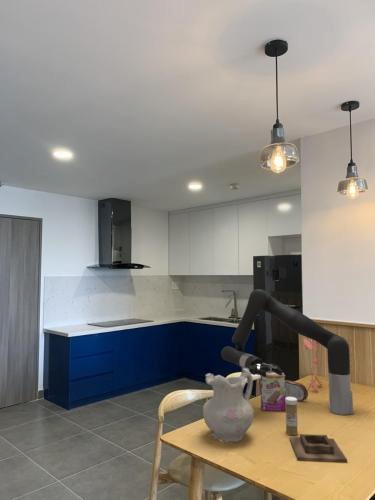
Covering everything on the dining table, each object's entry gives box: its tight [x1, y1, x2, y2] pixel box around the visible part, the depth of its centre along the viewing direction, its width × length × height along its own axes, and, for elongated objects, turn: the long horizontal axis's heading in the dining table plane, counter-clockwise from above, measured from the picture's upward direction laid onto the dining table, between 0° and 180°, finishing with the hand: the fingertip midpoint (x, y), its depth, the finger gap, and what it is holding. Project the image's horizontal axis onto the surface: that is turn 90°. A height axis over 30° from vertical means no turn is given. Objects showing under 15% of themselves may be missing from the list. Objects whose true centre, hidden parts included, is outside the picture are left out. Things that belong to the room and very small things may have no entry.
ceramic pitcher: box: [202, 368, 255, 443], centre depth 146 cm, size 22×20×25 cm
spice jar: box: [285, 397, 299, 436], centre depth 147 cm, size 5×5×14 cm
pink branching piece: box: [303, 337, 323, 393], centre depth 203 cm, size 15×26×35 cm, turn 149°
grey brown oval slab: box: [285, 379, 309, 402], centre depth 188 cm, size 15×3×8 cm, turn 40°
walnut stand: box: [289, 433, 348, 463], centre depth 132 cm, size 16×16×4 cm
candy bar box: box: [259, 372, 286, 412], centre depth 173 cm, size 11×5×16 cm, turn 84°
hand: (273, 373), depth 158 cm, fingers open, 8 cm apart
